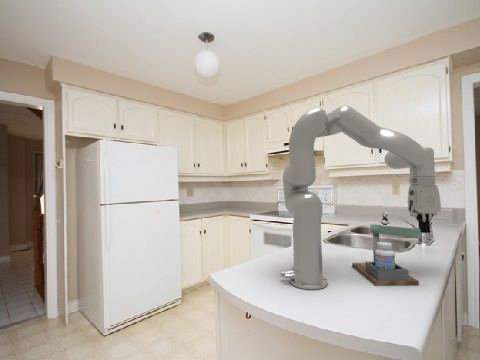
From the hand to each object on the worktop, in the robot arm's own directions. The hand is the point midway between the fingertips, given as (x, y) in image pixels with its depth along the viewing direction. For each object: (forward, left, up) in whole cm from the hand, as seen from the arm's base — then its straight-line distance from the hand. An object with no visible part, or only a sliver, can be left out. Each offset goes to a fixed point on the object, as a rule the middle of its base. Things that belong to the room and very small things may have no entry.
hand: (424, 232), depth 94 cm
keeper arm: (-9, +3, -1) cm, 10 cm away
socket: (-16, -5, -14) cm, 22 cm away
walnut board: (-15, 0, -15) cm, 22 cm away
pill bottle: (-17, -5, -14) cm, 22 cm away
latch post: (-13, +8, -14) cm, 21 cm away
